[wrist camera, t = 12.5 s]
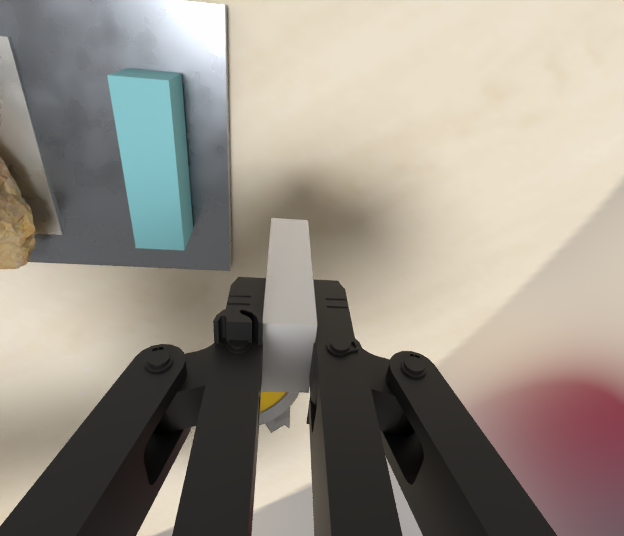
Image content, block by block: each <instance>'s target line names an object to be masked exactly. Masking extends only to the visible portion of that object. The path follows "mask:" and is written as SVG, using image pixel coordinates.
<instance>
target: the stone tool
mask: <svg viewBox="0 0 624 536" xmlns="http://www.w3.org/2000/svg"><path fill="white" fill-rule="evenodd" d="M34 234H36V230H35V226H34V224H33V215H32V211H31V208H30V206H29V205H28V204H27V202H26V201H25V199H24V198H22V197H21V191H20V189H19V188H18V186H17V183H16V181H15V180H14V178H13V177H12V176H11V174H10V172H9V170H8V168H7V166H6V164H5V163H4V161H3V160H2V158H1V156H0V269H18V268H19V267H20V266H24V265H26V264H27V262H28V261H29V260H30V255H31V252H32V250H33V249H34V248H35V247H34V245H35V244H36V243H35V238H34Z"/></svg>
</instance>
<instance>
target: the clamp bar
mask: <svg viewBox="0 0 624 536" xmlns="http://www.w3.org/2000/svg"><path fill="white" fill-rule="evenodd" d="M107 77H108V83H109V89H110V95H111V101H112V107H113V113H114V119H115V125H116V131H117V137H118V143H119V149H120V155H121V161H122V167H123V173H124V179H125V185H126V191H127V197H128V204H129V210H130V216H131V222H132V228H133V234H134V240H135V246H136V248H144V249H165V250H185V248H186V245H187V243H188V241H189V238H190V236H191V233H192V231H193V219H192V206H191V193H190V179H189V166H188V153H187V140H186V127H185V113H184V100H183V87H182V74H181V73H175V72H164V71H153V70H142V69H131V68H126V69H123V70H120V71H117V72H115V73H112V74H109V75H107Z"/></svg>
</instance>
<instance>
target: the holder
mask: <svg viewBox="0 0 624 536" xmlns="http://www.w3.org/2000/svg"><path fill="white" fill-rule="evenodd" d="M126 68H131V69H142V70H153V71H164V72H175V73H181V74H182V87H183V100H184V113H185V127H186V140H187V153H188V166H189V179H190V193H191V206H192V219H193V231H192V233H191V236H190V238H189V241H188V243H187V245H186V248H185V250H165V249H144V248H136V246H135V240H134V234H133V228H132V222H131V216H130V210H129V204H128V197H127V191H126V185H125V179H124V173H123V167H122V161H121V155H120V149H119V143H118V137H117V131H116V125H115V119H114V113H113V107H112V101H111V95H110V89H109V83H108V77H107V75H109V74H112V73H115V72H117V71H120V70H123V69H126ZM0 156H1V158H2V160H3V161H4V163H5V164H6V166H7V168H8V170H9V172H10V174H11V176H12V177H13V178H14V180H15V181H16V183H17V186H18V188H19V189H20V191H21V197H22V198H24V199H25V201H26V202H27V204H28V205H29V206H30V208H31V211H32V215H33V224H34V226H35V230H36V234H34V238H35V243H36V244H35V245H34V247H35V248H34V249H33V250H32V252H31V255H30V260H29V261H28V262H43V263H66V264H89V265H112V266H135V267H158V268H180V269H203V270H226V271H230V270H231V265H232V247H231V194H230V141H229V89H228V36H227V5H220V4H210V3H201V2H192V1H183V0H0Z"/></svg>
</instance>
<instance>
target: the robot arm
mask: <svg viewBox="0 0 624 536" xmlns="http://www.w3.org/2000/svg"><path fill="white" fill-rule="evenodd" d="M213 323H214V342H215V343H214V344H212V345H211V346H209V347H207V348H205V349H203V350H200V351H196V352H192V353H187V354H184V352H183V351H182V350H181V349H180V348H178V347H176V346H173V345H167V344H160V345H155V346H151V347H149V348H147V349H145V350H143V351H141V352H140V353H139V354H138V355H137V356H136V357H135V358H134V359H133V361H132V362H131V363H130V364H129V366H128V367H127V368H126V369H125V371H124V372H123V373H122V374H121V376H120V377H119V378H118V379H117V381H116V382H115V383H114V384H113V386H112V387H111V388H110V389H109V391H108V392H107V393H106V394H105V396H104V397H103V398H102V399H101V401H100V402H99V403H98V404H97V406H96V407H95V408H94V409H93V411H92V412H91V413H90V414H89V416H88V417H87V418H86V420H85V421H84V422H83V423H82V425H81V426H80V427H79V428H78V430H77V431H76V432H75V433H74V435H73V436H72V437H71V438H70V440H69V441H68V442H67V443H66V445H65V446H64V447H63V448H62V450H61V451H60V452H59V453H58V455H57V456H56V457H55V458H54V460H53V461H52V462H51V463H50V465H49V466H48V467H47V468H46V470H45V471H44V472H43V473H42V475H41V476H40V477H39V478H38V480H37V481H36V482H35V483H34V485H33V486H32V487H31V488H30V490H29V491H28V492H27V493H26V495H25V496H24V497H23V498H22V500H21V501H20V502H19V503H18V505H17V506H16V507H15V508H14V510H13V511H12V512H11V513H10V515H9V516H8V517H7V519H6V520H5V521H4V522H3V524H2V525H1V526H0V536H136V535H137V533H138V531H139V529H140V527H141V525H142V523H143V521H144V519H145V517H146V515H147V513H148V511H149V510H150V508H151V506H152V504H153V502H154V500H155V498H156V496H157V494H158V492H159V490H160V488H161V486H162V484H163V483H164V481H165V479H166V477H167V475H168V473H169V471H170V469H171V467H172V465H173V463H174V461H175V459H176V457H177V455H178V454H179V452H180V450H181V448H182V446H183V444H184V442H185V440H186V438H187V436H188V434H189V432H190V430H191V427H193V426H196V430H195V435H194V439H193V444H192V448H191V453H190V458H189V462H188V467H187V471H186V476H185V480H184V485H183V489H182V494H181V498H180V503H179V507H178V512H177V516H176V521H175V525H174V530H173V534H172V536H251V532H252V519H253V518H252V517H253V504H254V490H255V476H256V461H257V447H258V433H259V419H260V401H261V391H262V392H306V393H309V387H310V401H309V409H308V416H307V424H309V426H310V448H311V469H312V489H313V511H314V512H313V513H314V535H315V536H402V532H401V527H400V522H399V518H398V513H397V509H396V503H395V499H394V494H393V489H392V485H391V480H390V475H389V471H388V466H387V461H386V458H387V460H388V462H389V464H390V466H391V468H392V470H393V473H394V475H395V476H396V479H397V481H398V483H399V485H400V487H401V490H402V492H403V494H404V496H405V498H406V500H407V502H408V505H409V507H410V509H411V511H412V513H413V515H414V517H415V519H416V521H417V523H418V526H419V528H420V530H421V532H422V534H423V536H557V535H556V533H555V532H554V531H553V529H552V528H551V526H550V525H549V524H548V522H547V521H546V520H545V518H544V517H543V515H542V514H541V512H540V511H539V510H538V509H537V507H536V506H535V504H534V503H533V501H532V500H531V499H530V497H529V496H528V494H527V493H526V492H525V490H524V489H523V488H522V486H521V485H520V483H519V482H518V480H517V479H516V478H515V476H514V475H513V474H512V472H511V471H510V469H509V468H508V467H507V465H506V464H505V463H504V461H503V460H502V458H501V457H500V456H499V454H498V453H497V451H496V450H495V448H494V447H493V446H492V444H491V443H490V442H489V440H488V439H487V437H486V436H485V435H484V433H483V432H482V430H481V429H480V428H479V426H478V425H477V423H476V422H475V421H474V419H473V418H472V416H471V415H470V414H469V413H468V411H467V410H466V408H465V407H464V405H463V404H462V403H461V401H460V400H459V398H458V397H457V396H456V395H455V393H454V391H453V390H452V389H451V387H450V386H449V384H448V383H447V382H446V380H445V379H444V378H443V376H442V375H441V373H440V372H439V371H438V369H437V368H436V366H435V365H434V364H433V363H432V362H431V361H430V360H429V359H428V358H426V357H425V356H423V355H421V354H419V353H415V352H412V351H401V352H399V353H396V354H394V355H393V356H392V357H391V359H390V360H389V359H386V358H382V357H378V356H375V355H373V354H370V353H369V352H367V351H365V350H364V349H363V348H362V347H361V345H360V343H359V342H358V341H357V340H356V339H355V337H354V332H353V327H352V322H351V317H350V312H349V309H348V302H347V297H346V292H345V289H344V288H343V287H342V285H341V284H340V283H339V282H338V281H330V280H313V271H312V260H311V249H310V238H309V227H308V220H298V219H282V218H271V229H270V240H269V252H268V264H267V275H266V278H249V277H238V278H237V279H236V280H235V282H234V283H233V284H232V285H231V288H230V292H229V297H228V302H227V306H226V309H225V310H223V311H222V312H220V313H219V314H217V315H216V317H215V319H214V321H213ZM385 455H386V457H385Z"/></svg>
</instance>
